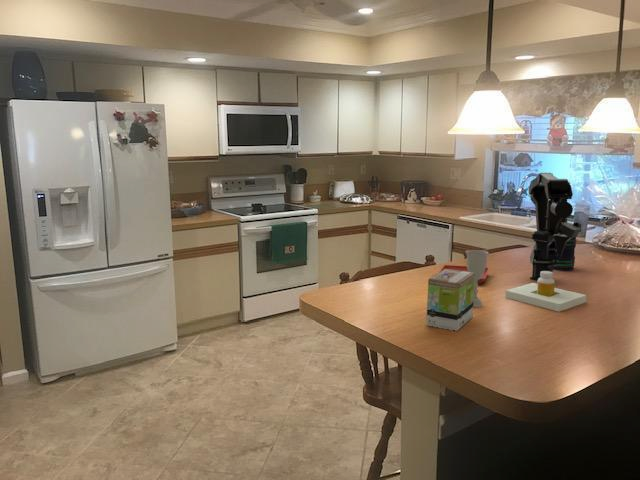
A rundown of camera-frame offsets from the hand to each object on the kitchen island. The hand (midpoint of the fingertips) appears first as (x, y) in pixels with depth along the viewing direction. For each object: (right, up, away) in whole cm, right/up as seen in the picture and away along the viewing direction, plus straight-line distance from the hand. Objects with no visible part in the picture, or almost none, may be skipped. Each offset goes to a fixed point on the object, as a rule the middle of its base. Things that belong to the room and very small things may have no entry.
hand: (552, 257), depth 194 cm
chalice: (-32, -16, -14) cm, 38 cm away
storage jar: (+18, -6, +33) cm, 37 cm away
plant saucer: (-27, -10, +20) cm, 35 cm away
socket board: (-7, -14, -10) cm, 19 cm away
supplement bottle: (-7, -14, -10) cm, 19 cm away
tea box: (-44, -19, -30) cm, 56 cm away
